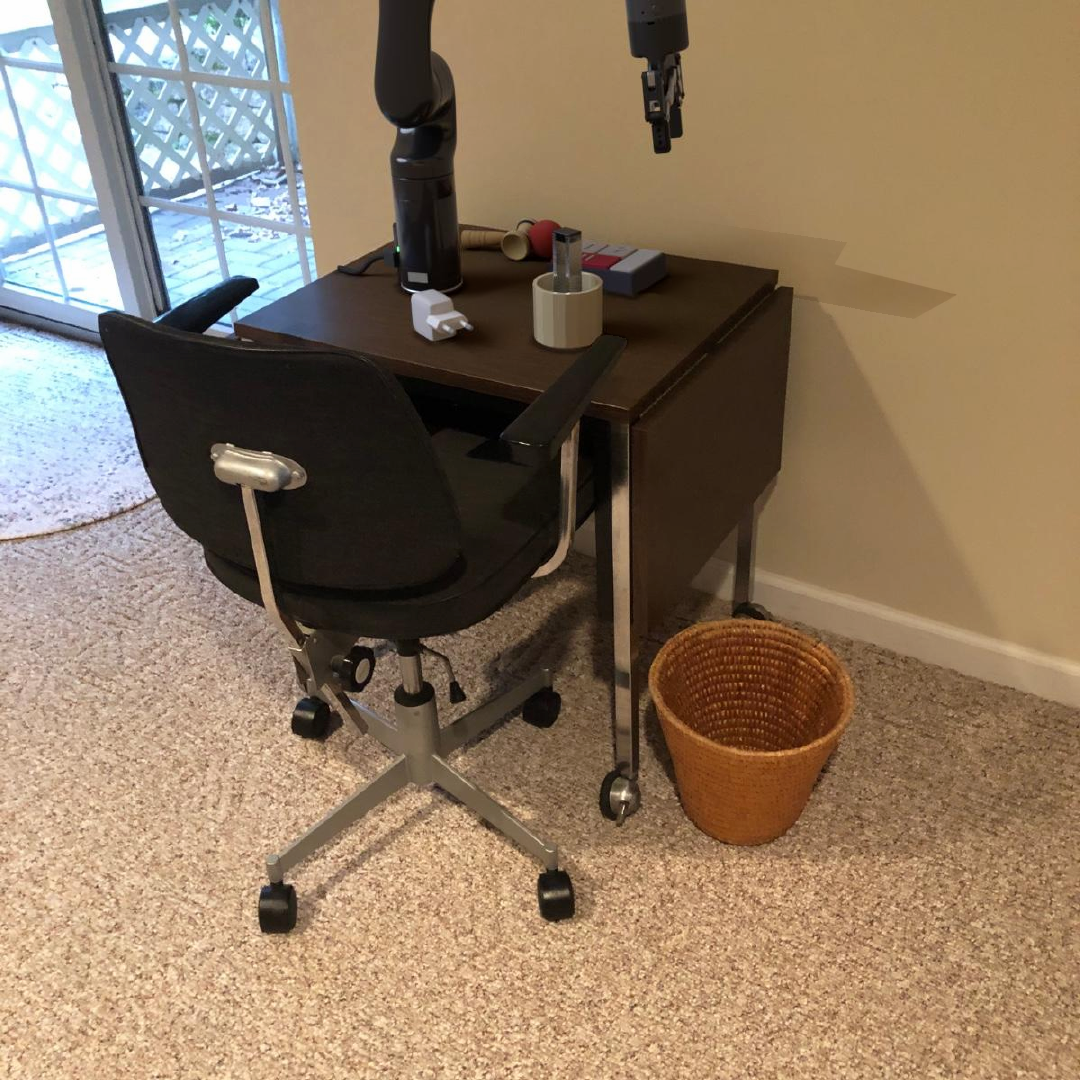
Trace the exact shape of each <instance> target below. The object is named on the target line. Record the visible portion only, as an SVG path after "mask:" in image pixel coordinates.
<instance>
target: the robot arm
mask: <svg viewBox="0 0 1080 1080" xmlns="http://www.w3.org/2000/svg"><path fill="white" fill-rule="evenodd" d="M435 3H436V0H378V26H377V27H378V28H377V41H376V54H375V65H374V74H373V75H374V77H373V90H374V97H375V101H376V105H377V107H378V109H379V111H380V113H381V115H382V116H383V117H384V118H385V120H386V121H387V122H388V123H389V124H391V125H393V127H396V135H395V139H394V144H393V146H392V148H391V151H390V152H389V153H390V154H389V168H390V169H389V170H390V178H391V179H390V180H391V187H392V197H393V207H394V218H395V221H394V222H393V224H392V233H393V242H394V243H393V244H394V246H390V247H387V248H383V249H382V252H381V253H376V254H374V255H372V256H370V257H368V258H367V259H366V260H365V262H364V263H363V264H362V265H361V266H360V267H358V268H351V267H347V266H344V265H340V264H338V265H337V266H336V270H337V271H338V272H341V273H343V274H348V275H350V276H357V275H358V276H359V275H362V274H364V273H365V272H366V271H367V270H368V269H369V268H370V267H371V265H372V264H373V263H375V262H377V261H380V260H383V263H384V265H385V266H387V267H391V268H393V269H396V272H397V273H396V274H397V281H398V285H400V286H401V290H402V291H403V292H404V293H406V294H409V295H411V296H412V295H413V294H415V293H418V292H422V291H426V290H431V289H434V290H436V291H438V292H440V293H442V294H444V295H448V294H451V293H454V292H456V291H458V290H460V289H461V288H462V287H463V286H464V281H463V274H462V260H461V259H462V258H461V245H460V229H459V218H458V217H459V216H458V214H459V213H458V202H457V189H456V173H455V171H456V170H455V155H456V151H457V146H458V124H457V123H458V122H457V121H458V120H457V116H458V115H457V95H456V87H455V86H456V85H455V81H454V76H453V73H452V70H451V68H450V65H449V64H448V63H447V61H446V60H445V59H444V58H443V56H441V55H440V54H439V53H438V52H436V51H434V50H432V21H433V13H434V9H435V8H434V7H435ZM624 4H625V14H626V24H627V31H628V33H627V34H628V40H629V49H630V55H631V56H632V58H635V59H646V61H647V67H646V68H647V70H646V71H641V75H640V80H641V88H642V97H643V108H644V120H645V122H646V123H648V124H649V125H651V135H652V143H653V146H652V147H653V151H654V154H656V155H661V154H662V155H663V154H668V153H670V152H671V150H672V139H680V138H682V136H683V135H684V128H683V127H684V126H683V116H682V115H683V114H682V107H683V104H684V101H683V100H684V98H685V94H686V93H685V89H684V80H683V71H682V70H683V69H682V61H681V60H682V56H681V53H680V52H683V51H686V50H687V49H688V48H689V46H690V36H689V26H688V25H689V24H688V11H687V2H686V0H624ZM656 108H659V110H655V109H656Z"/></svg>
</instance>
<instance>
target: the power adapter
mask: <svg viewBox="0 0 1080 1080" xmlns="http://www.w3.org/2000/svg"><path fill="white" fill-rule="evenodd" d="M410 301H411V314H412V323H413V328H414V330H415V332H417V333H418V334H420V335H421V336H423V337H425V338H426V339H428V340H429V341H432V342H437V341H441V340H445V339H448V338H452V337H455V336H456V335H457V330H461V329H463V328H465V329H466V330H468V331H469V332H470V331H471V332H472V331H473V330H474V326H473V325H472V324H470V323H468V322H469V319H468V318H467V316H465V314H463V313H461V312H459V311H458V310H456V309H455V308H454V303H453V300H452V299H451V297H449V296H447V294H442V293H440V292H438V291H436V290H434V289H431V290H426V291H422V292H418V293H415V294H413V295H412V294H411V299H410Z"/></svg>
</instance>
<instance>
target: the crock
mask: <svg viewBox="0 0 1080 1080" xmlns="http://www.w3.org/2000/svg"><path fill="white" fill-rule="evenodd" d="M603 292H604V289H603V280H602V279H601V278H600V277H599V276H597V275H595V274H592V273H588V272H583V271H582V292H575V293H557V292H554V282H553V272H550V273H548V272H546V273H544V274H541V275H539V276H537V277H536V278H534V279H533V281H532V310H533V311H532V313H533V336H534V339H535V340H536V341H537V342H538V343H539V344H541V345H543V346H547V347H550V348H555V349H579V348H584V347H589V346H591V344H592V343H593V342H594V341H595V339H596V338H597V337H598V336H600V335H601V334H602V335H603V318H604V317H603V316H604V315H603V313H604V311H603V307H604V304H603V303H604V302H603V301H604V300H603V299H604V296H603V295H604V293H603ZM592 345H593V344H592Z"/></svg>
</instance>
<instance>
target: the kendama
mask: <svg viewBox="0 0 1080 1080" xmlns="http://www.w3.org/2000/svg"><path fill="white" fill-rule="evenodd" d="M560 228H563V227H562V226H561V225H560V224H559V223H558V222H556V221H554V220H551V219H543V220H539V221H538V220H537V219H535V218H533V217H524V218H522V219H521V220H520V221H519V222H518V223H517V225H516V230H515V229H512V230H509V231H508V232H504V231H493V230H491V231H490V230H489V231H488V230H469V229H464V230H463V231H462V232H461V234H460V242H461V246H462V247H463V248H464V249H466V250H467V249H473V248H483V247H494V246H501V250H502V252H503V253H504V254H505V256H506V257H508V258H509V259H510V260H514V261H522V260H524V259H525V258H526V257H528V255H529V254H530V252H531V251H532V253H533V254H535V255H536V256H537V257H539V258H543V259H552V258H553V231H554V230H557V229H560Z"/></svg>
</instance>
